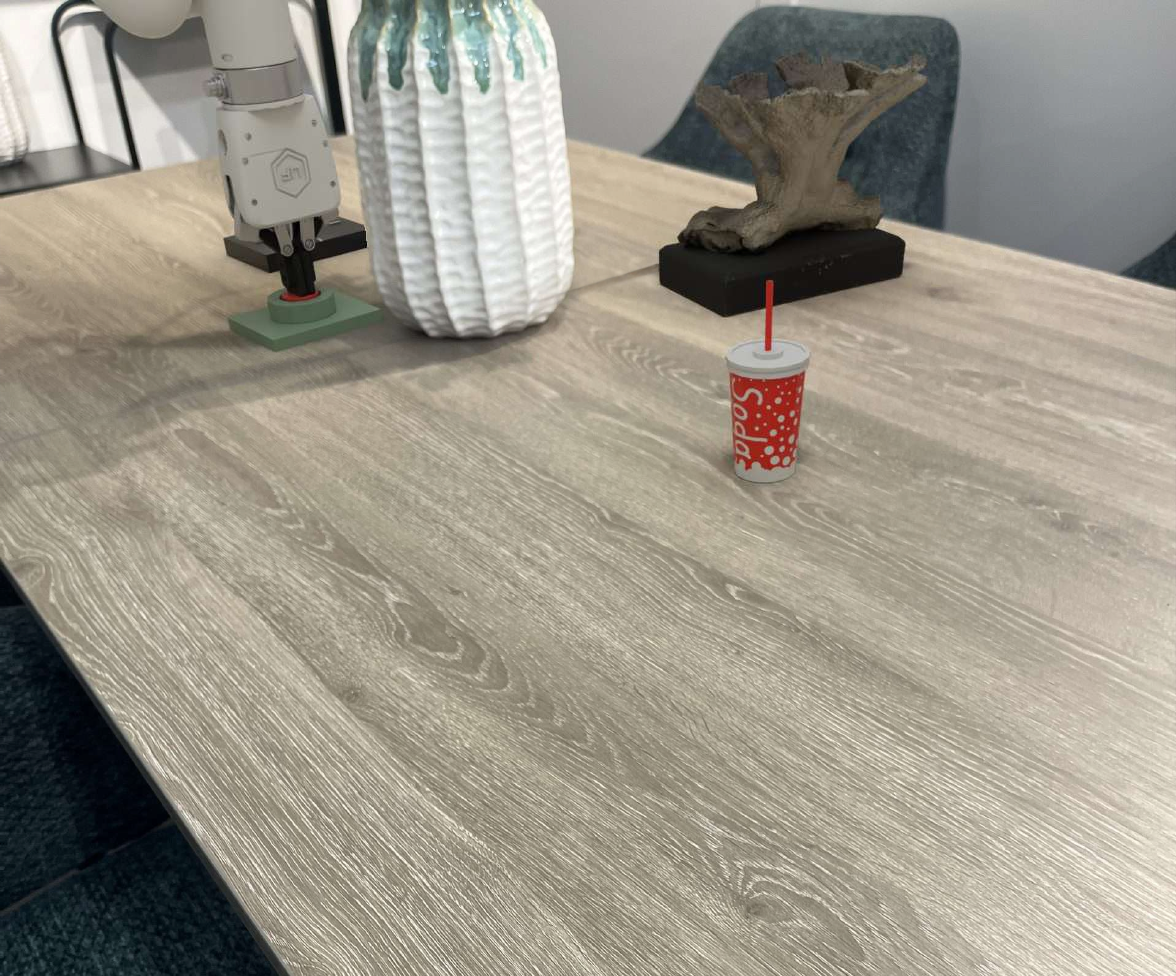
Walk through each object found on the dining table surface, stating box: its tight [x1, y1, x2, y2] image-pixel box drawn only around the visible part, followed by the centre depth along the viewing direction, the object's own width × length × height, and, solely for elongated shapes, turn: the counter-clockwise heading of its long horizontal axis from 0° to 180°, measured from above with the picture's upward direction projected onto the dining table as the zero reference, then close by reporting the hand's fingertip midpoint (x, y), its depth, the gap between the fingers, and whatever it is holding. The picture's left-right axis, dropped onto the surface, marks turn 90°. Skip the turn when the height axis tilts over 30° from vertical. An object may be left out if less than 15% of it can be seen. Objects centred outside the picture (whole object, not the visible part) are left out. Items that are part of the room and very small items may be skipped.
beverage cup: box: [724, 280, 812, 484], centre depth 93 cm, size 6×6×14 cm
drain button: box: [282, 289, 319, 302], centre depth 127 cm, size 4×4×2 cm
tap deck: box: [222, 215, 368, 274], centre depth 150 cm, size 14×11×3 cm
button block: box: [227, 284, 383, 353], centre depth 128 cm, size 12×10×4 cm
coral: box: [658, 49, 928, 317], centre depth 126 cm, size 25×20×22 cm
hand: (301, 292), depth 127 cm, fingers closed
